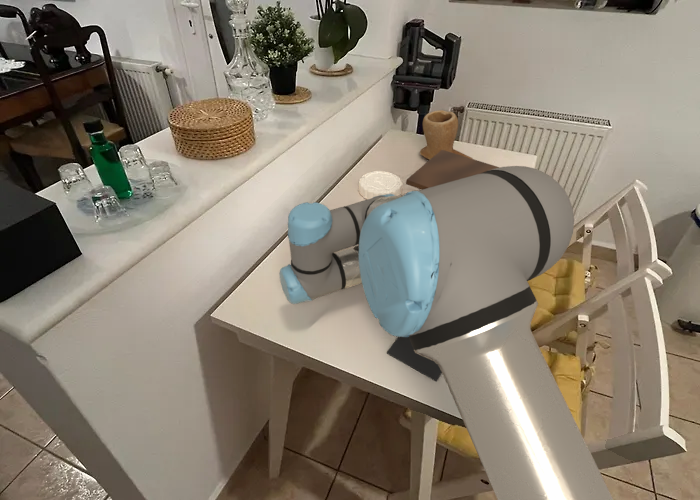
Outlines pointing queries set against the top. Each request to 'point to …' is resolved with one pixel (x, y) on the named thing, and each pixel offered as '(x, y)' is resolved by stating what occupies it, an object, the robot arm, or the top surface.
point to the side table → (446, 170)
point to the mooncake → (379, 184)
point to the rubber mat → (414, 358)
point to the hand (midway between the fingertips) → (446, 237)
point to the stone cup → (440, 133)
